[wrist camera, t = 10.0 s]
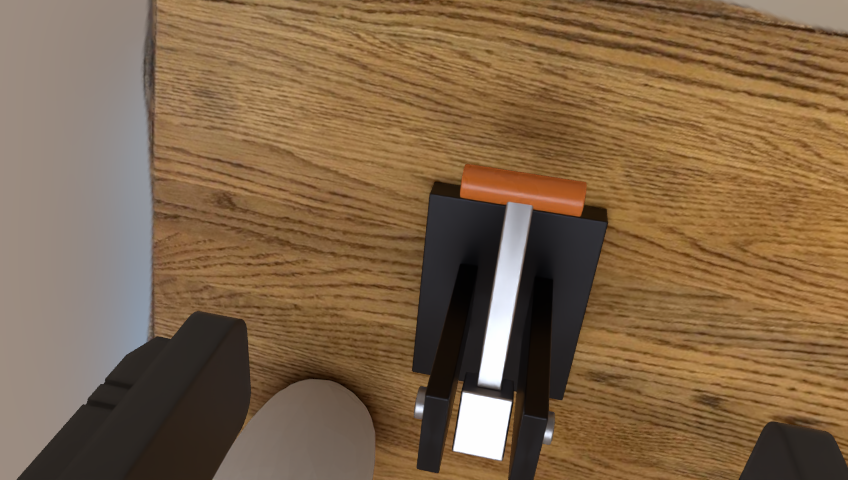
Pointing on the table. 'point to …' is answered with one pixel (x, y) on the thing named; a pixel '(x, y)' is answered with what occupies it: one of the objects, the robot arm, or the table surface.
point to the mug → (305, 437)
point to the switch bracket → (469, 304)
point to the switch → (504, 298)
